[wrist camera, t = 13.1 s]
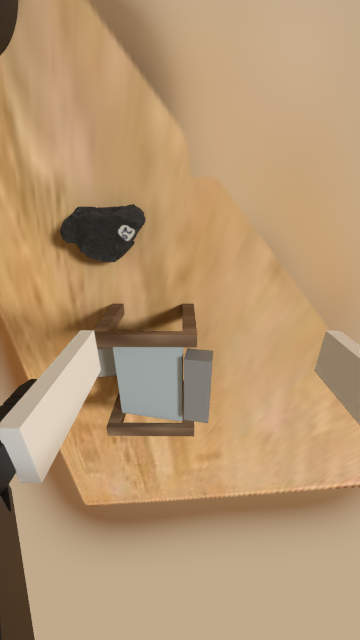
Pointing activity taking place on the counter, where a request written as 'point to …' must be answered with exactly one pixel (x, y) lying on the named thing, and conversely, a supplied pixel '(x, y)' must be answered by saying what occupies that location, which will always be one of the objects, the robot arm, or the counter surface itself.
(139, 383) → the trapdoor
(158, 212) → the counter surface
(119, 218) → the rock
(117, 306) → the trapdoor frame
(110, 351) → the grey rectangular block
